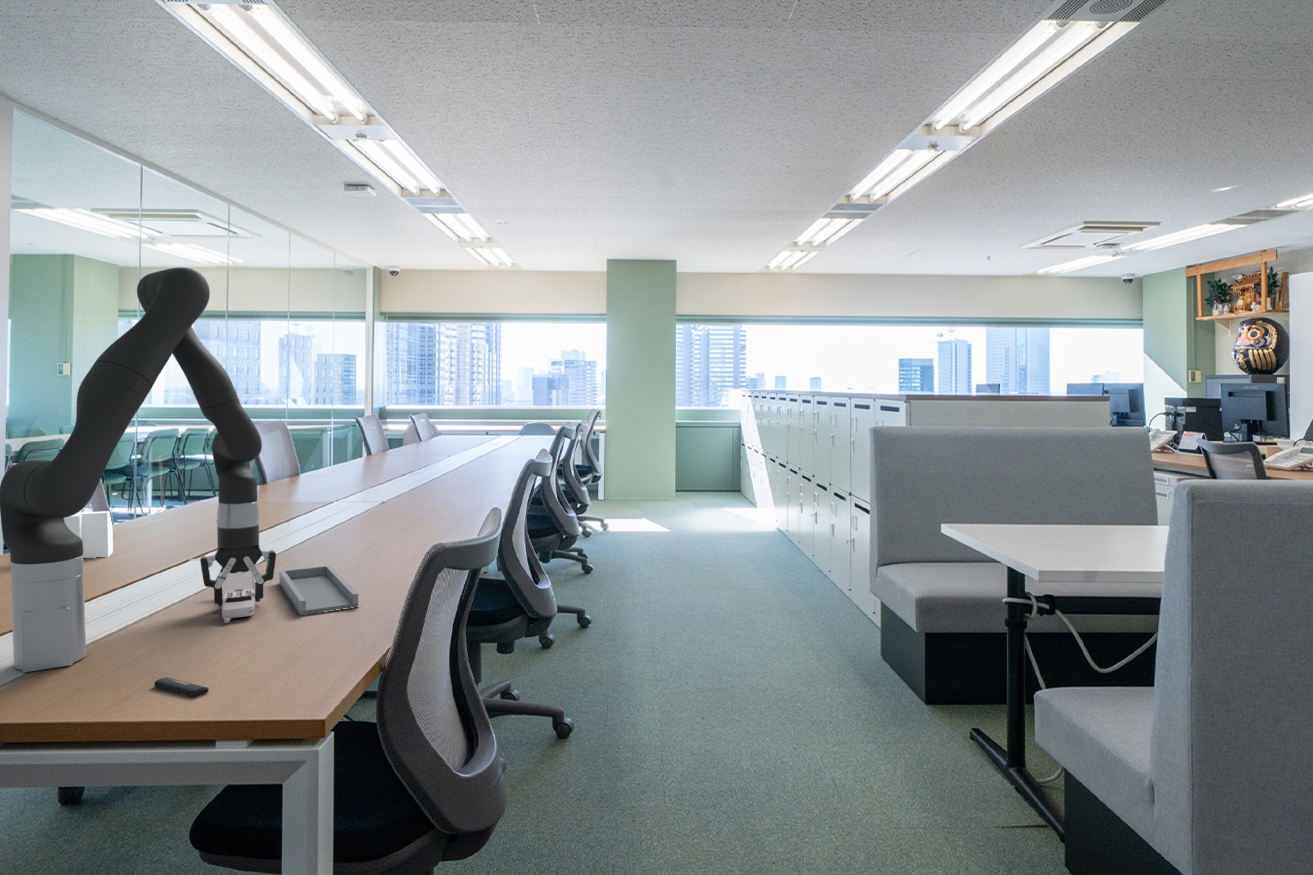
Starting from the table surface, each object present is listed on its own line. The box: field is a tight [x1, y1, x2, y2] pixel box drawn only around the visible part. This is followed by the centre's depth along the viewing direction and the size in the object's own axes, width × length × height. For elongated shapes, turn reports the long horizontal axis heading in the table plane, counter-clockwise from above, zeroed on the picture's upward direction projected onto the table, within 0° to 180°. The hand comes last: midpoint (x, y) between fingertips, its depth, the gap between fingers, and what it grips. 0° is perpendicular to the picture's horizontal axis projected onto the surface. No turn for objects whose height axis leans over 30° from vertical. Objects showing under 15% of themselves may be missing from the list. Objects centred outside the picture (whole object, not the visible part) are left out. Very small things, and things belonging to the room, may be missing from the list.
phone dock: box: [278, 564, 359, 617], centre depth 164 cm, size 30×11×3 cm, turn 34°
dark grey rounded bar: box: [153, 677, 209, 698], centre depth 111 cm, size 10×3×2 cm, turn 67°
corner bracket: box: [64, 510, 114, 559], centre depth 196 cm, size 11×11×12 cm
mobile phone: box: [221, 570, 256, 624], centre depth 154 cm, size 6×6×25 cm
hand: (239, 602), depth 154 cm, fingers closed on mobile phone, 6 cm apart
